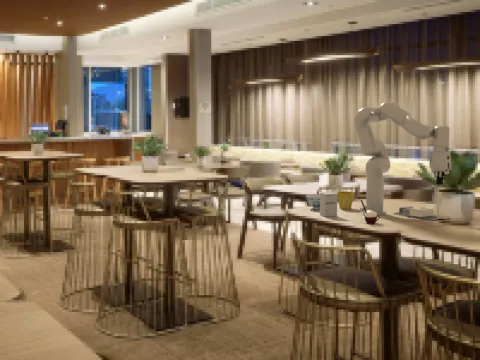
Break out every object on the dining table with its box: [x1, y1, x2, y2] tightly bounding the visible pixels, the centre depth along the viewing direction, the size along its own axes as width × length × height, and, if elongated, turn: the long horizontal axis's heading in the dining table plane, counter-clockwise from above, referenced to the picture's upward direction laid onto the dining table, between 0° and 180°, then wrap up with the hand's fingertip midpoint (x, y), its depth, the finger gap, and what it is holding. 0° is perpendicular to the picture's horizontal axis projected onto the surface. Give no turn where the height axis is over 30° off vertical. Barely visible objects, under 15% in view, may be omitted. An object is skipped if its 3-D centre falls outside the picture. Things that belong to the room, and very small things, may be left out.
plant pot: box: [336, 190, 355, 210], centre depth 359 cm, size 10×10×10 cm
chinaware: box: [305, 193, 320, 211], centre depth 358 cm, size 15×15×8 cm
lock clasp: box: [410, 206, 435, 217], centre depth 328 cm, size 10×8×4 cm
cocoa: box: [360, 199, 381, 225], centre depth 308 cm, size 10×6×12 cm
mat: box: [393, 212, 439, 222], centre depth 331 cm, size 14×27×1 cm, turn 32°
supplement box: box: [319, 191, 338, 218], centre depth 332 cm, size 7×7×13 cm
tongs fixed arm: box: [398, 205, 414, 215], centre depth 335 cm, size 9×15×3 cm, turn 32°
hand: (439, 184), depth 317 cm, fingers closed
